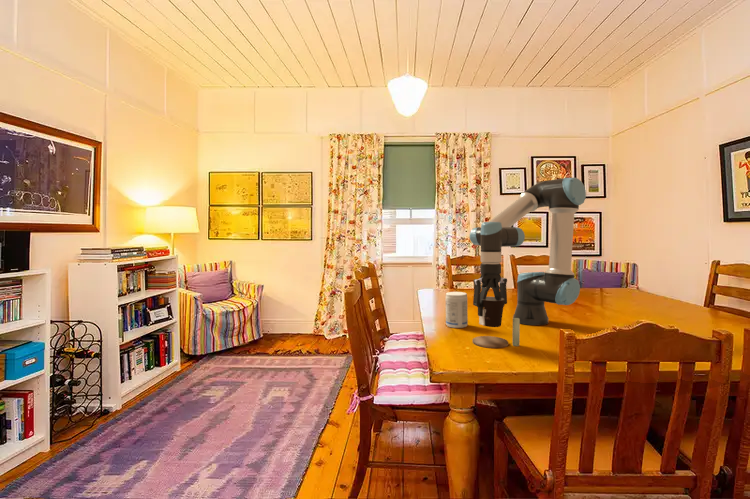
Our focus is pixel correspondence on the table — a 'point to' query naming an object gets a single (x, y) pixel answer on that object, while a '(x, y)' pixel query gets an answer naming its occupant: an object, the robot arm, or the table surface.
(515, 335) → the dowel
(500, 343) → the walnut base
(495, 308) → the coffee mug
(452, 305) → the supplement tub
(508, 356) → the table surface
